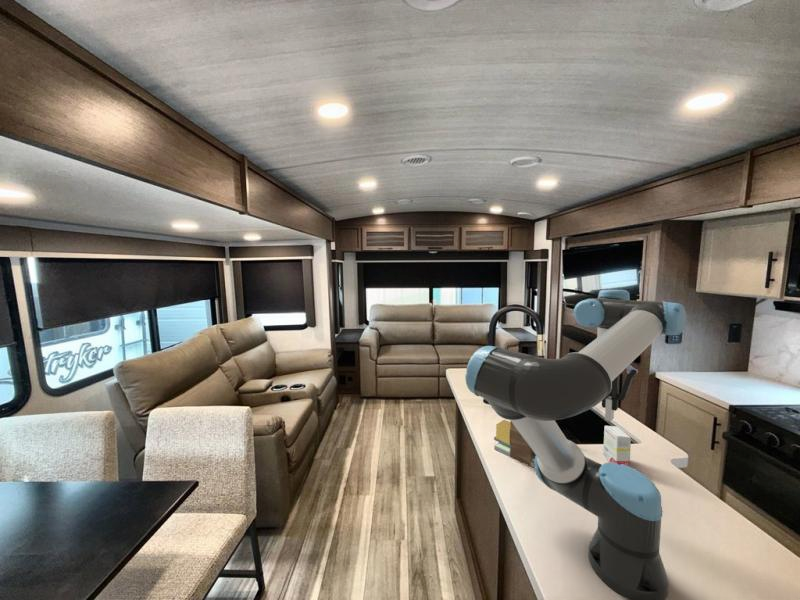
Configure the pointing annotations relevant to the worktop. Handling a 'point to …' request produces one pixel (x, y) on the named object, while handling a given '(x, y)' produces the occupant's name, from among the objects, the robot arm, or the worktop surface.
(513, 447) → the wooden house block
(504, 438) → the yellow angular block
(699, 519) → the worktop surface
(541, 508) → the worktop surface
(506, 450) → the deck
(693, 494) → the worktop surface
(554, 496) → the worktop surface
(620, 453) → the ink box
